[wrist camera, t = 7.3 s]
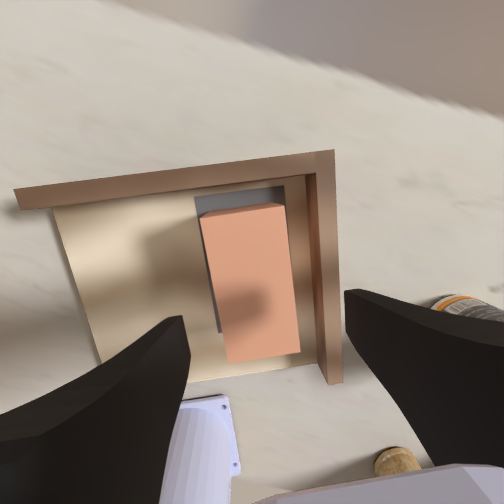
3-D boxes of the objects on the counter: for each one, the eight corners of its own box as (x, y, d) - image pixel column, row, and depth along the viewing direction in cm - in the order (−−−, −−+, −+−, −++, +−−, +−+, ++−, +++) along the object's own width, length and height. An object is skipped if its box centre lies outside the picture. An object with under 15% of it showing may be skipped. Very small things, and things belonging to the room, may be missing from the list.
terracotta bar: (209, 211, 18) (199, 218, 13) (271, 201, 18) (284, 205, 13) (230, 322, 20) (228, 364, 15) (284, 313, 20) (300, 352, 15)
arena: (327, 353, 22) (343, 382, 19) (117, 385, 22) (95, 421, 18) (315, 157, 18) (334, 149, 15) (56, 189, 18) (13, 189, 14)
